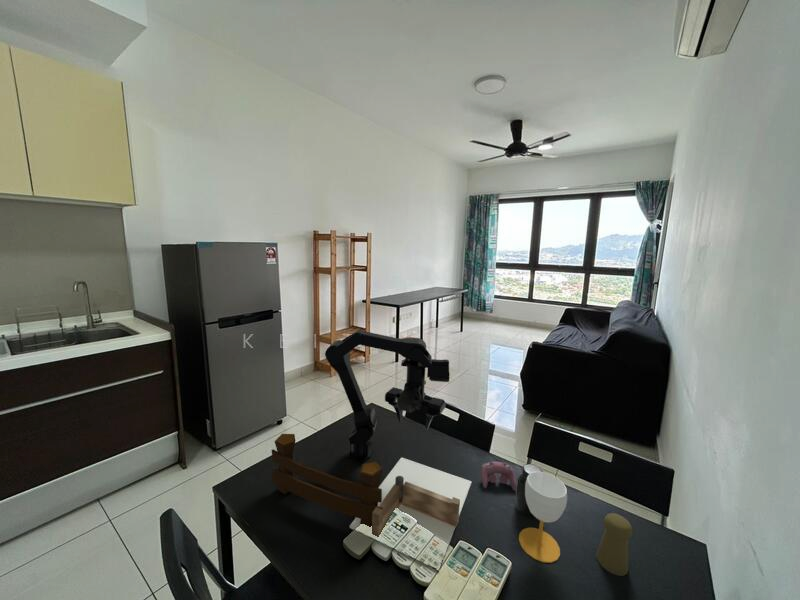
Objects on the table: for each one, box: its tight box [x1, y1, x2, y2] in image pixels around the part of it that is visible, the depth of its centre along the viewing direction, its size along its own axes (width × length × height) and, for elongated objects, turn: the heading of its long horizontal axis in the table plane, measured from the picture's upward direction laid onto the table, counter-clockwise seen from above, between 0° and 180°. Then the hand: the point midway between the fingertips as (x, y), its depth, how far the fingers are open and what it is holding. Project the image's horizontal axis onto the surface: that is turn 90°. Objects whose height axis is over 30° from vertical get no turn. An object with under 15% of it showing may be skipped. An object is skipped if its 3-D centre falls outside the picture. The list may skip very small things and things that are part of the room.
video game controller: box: [480, 461, 517, 492], centre depth 95 cm, size 10×5×7 cm, turn 86°
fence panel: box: [403, 482, 460, 526], centre depth 83 cm, size 15×2×6 cm, turn 64°
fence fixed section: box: [372, 476, 404, 537], centre depth 81 cm, size 2×14×6 cm, turn 155°
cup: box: [518, 471, 568, 564], centre depth 75 cm, size 9×9×16 cm
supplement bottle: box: [515, 463, 544, 520], centre depth 85 cm, size 7×7×12 cm
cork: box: [595, 512, 633, 577], centre depth 71 cm, size 6×6×11 cm
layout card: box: [349, 457, 472, 546], centre depth 87 cm, size 23×30×1 cm
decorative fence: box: [271, 433, 384, 527], centre depth 84 cm, size 34×6×15 cm, turn 67°
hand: (413, 425), depth 103 cm, fingers open, 9 cm apart
